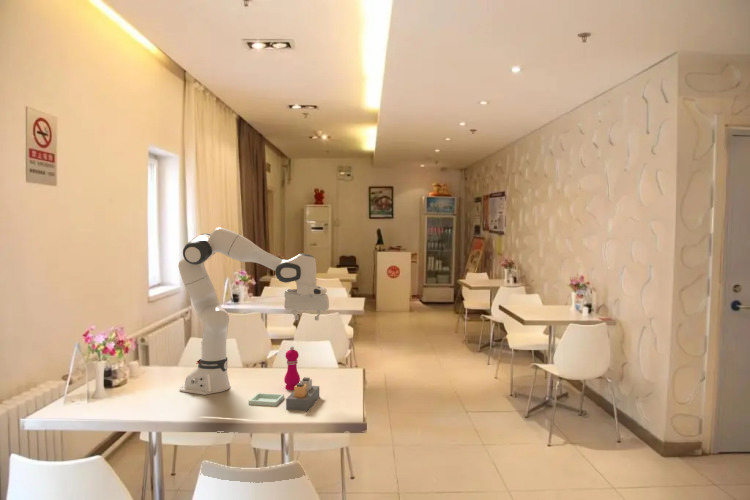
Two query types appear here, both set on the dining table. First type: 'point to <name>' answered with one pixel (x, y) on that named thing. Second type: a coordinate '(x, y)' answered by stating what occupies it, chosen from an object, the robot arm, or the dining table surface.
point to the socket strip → (303, 400)
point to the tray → (266, 399)
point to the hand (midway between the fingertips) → (306, 319)
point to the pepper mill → (291, 369)
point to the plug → (300, 390)
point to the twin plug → (307, 383)
